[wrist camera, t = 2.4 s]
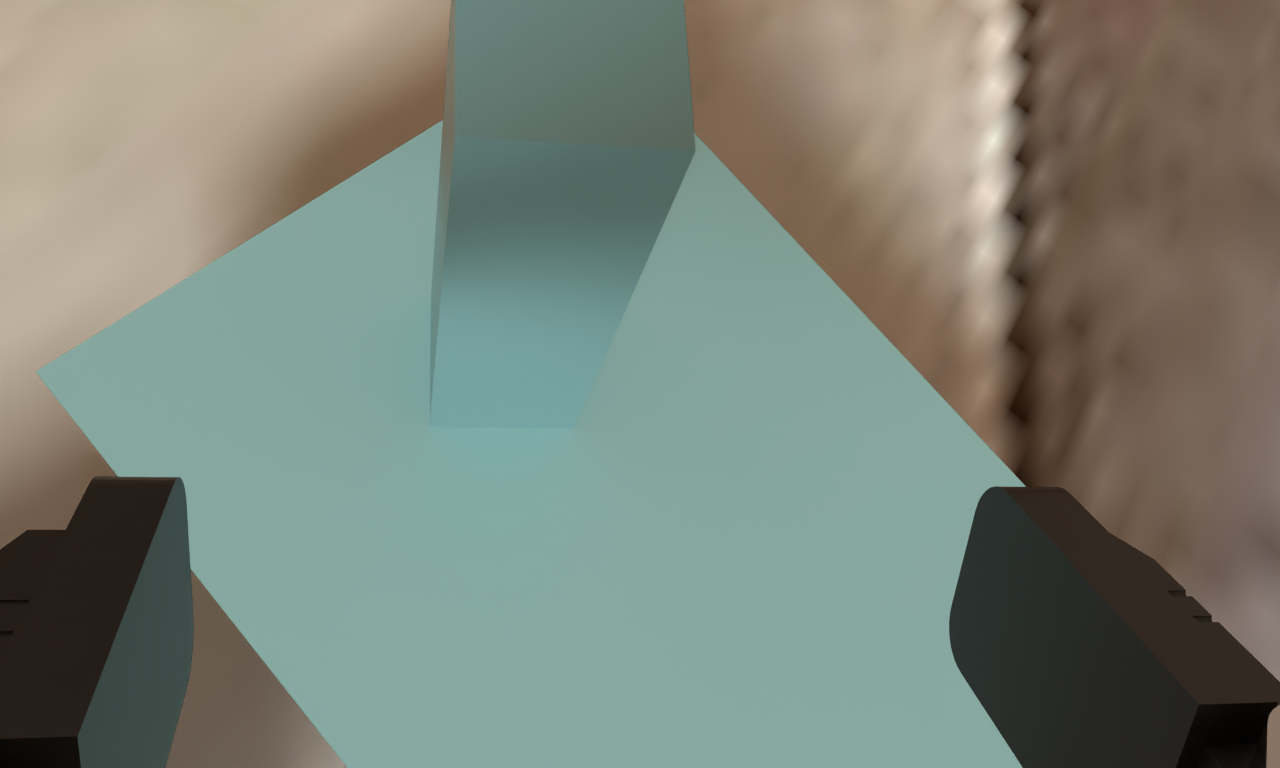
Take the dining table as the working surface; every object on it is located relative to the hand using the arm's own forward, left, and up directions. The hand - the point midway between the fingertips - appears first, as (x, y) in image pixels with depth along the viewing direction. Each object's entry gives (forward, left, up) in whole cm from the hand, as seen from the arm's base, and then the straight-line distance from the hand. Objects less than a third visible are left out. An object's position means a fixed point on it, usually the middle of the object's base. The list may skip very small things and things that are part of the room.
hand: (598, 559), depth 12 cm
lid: (0, +4, -13) cm, 14 cm away
